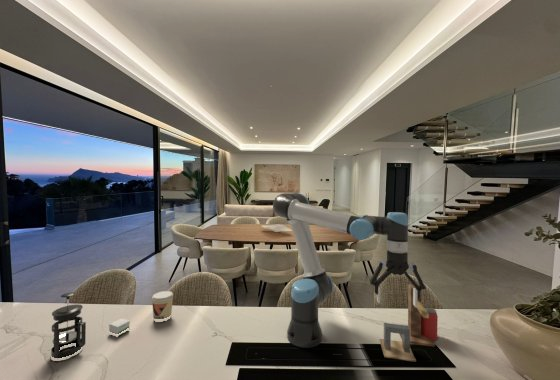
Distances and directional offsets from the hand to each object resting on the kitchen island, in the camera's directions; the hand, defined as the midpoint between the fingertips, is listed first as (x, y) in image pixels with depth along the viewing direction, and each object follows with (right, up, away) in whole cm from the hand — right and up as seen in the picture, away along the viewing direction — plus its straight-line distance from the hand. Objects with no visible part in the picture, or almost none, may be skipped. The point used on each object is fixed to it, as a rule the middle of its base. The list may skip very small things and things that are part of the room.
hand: (396, 304), depth 98 cm
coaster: (0, -19, 0) cm, 19 cm away
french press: (-128, -18, -4) cm, 130 cm away
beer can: (+18, -19, +9) cm, 28 cm away
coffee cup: (-105, -18, +22) cm, 108 cm away
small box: (-118, -18, +10) cm, 120 cm away
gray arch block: (0, -18, 0) cm, 18 cm away
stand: (+11, -19, +5) cm, 22 cm away
